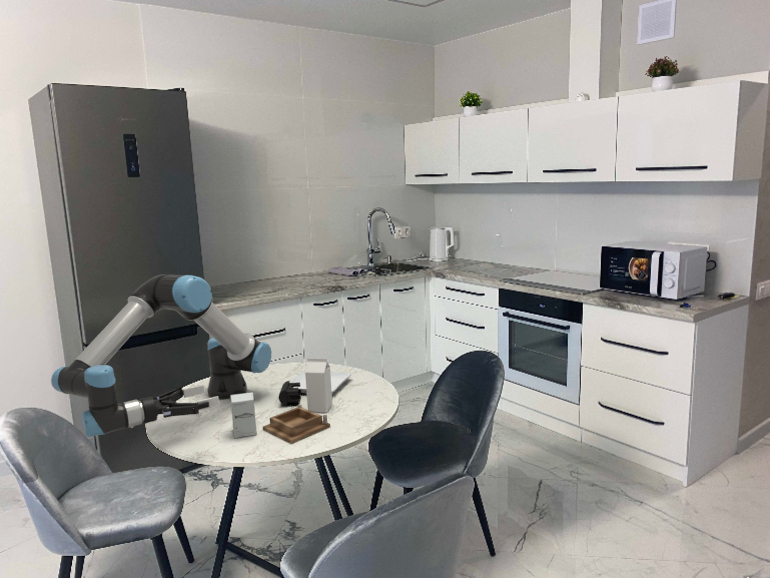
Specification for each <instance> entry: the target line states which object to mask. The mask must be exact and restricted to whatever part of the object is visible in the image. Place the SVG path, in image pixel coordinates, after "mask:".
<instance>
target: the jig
mask: <svg viewBox="0 0 770 578" xmlns="http://www.w3.org/2000/svg"><path fill="white" fill-rule="evenodd" d="M302 406H303V405H302V404H299V405H298V406H296V407H295V408H292V409H289V410H287V411H284V412H281V413H279V414H276V415H273V416H271V417H269V424H266V425H262V430H263V431H264V432H265V433H269V434H270V435H272V436H275V437H277V438H279V439H281V440H282V441H284V442H287V443H290V444H291V445H292V444H295V443H297V442H299V441H302V440H304V439H306V438H308V437H311V436H313V435H315V434H318V433H320V432H323V431H324V430H327V429H329V428H331V423H330V422H328V415H327V414H323V415H321V414H318V413H317V412H312V411H309V410H308V408H307V409H306V408H304V407H302Z"/></svg>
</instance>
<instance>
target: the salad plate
mask: <svg viewBox="0 0 770 578" xmlns="http://www.w3.org/2000/svg"><path fill="white" fill-rule="evenodd" d="M305 371H306V369H304V371H302V372H300V374H298V375H296V376H295V377H294V378H293V379H292V380H291V381H290V383H299V382H300V387H293V388H298V390H301V394H307V391H306V376H305ZM330 374H331V390H332V395H333V394H334V393H335V392H336V391H337V390H338V389H339V388H340V387H341V386H342V385H343V384H344V383H345V382H347V380H348V379H350V378H351V376H352V373H351V372H343V371H342V372H341V371H331V370H330Z"/></svg>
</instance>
